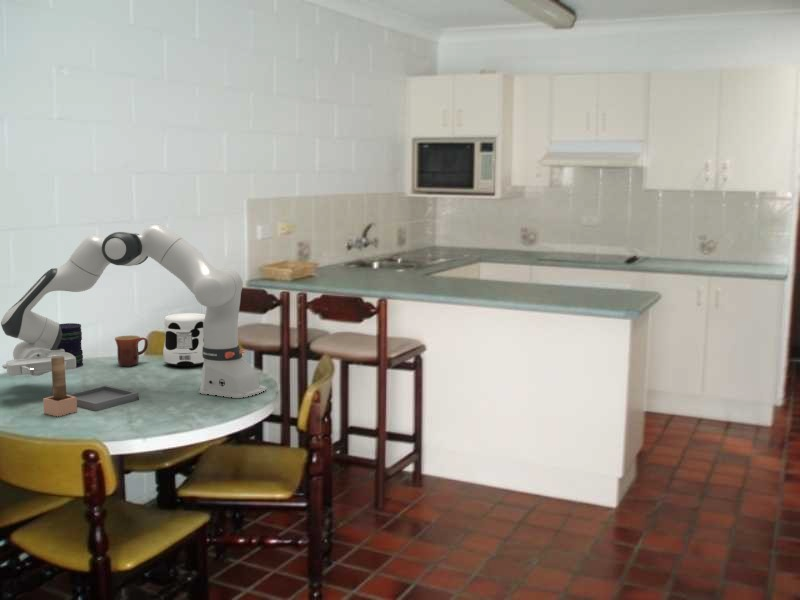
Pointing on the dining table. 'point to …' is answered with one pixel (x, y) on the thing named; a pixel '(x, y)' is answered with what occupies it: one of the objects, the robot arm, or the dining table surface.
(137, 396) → the tray
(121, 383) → the dining table surface
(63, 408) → the pot
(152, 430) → the dining table surface
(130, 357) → the mug
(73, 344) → the storage jar
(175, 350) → the milk container
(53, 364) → the dowel
